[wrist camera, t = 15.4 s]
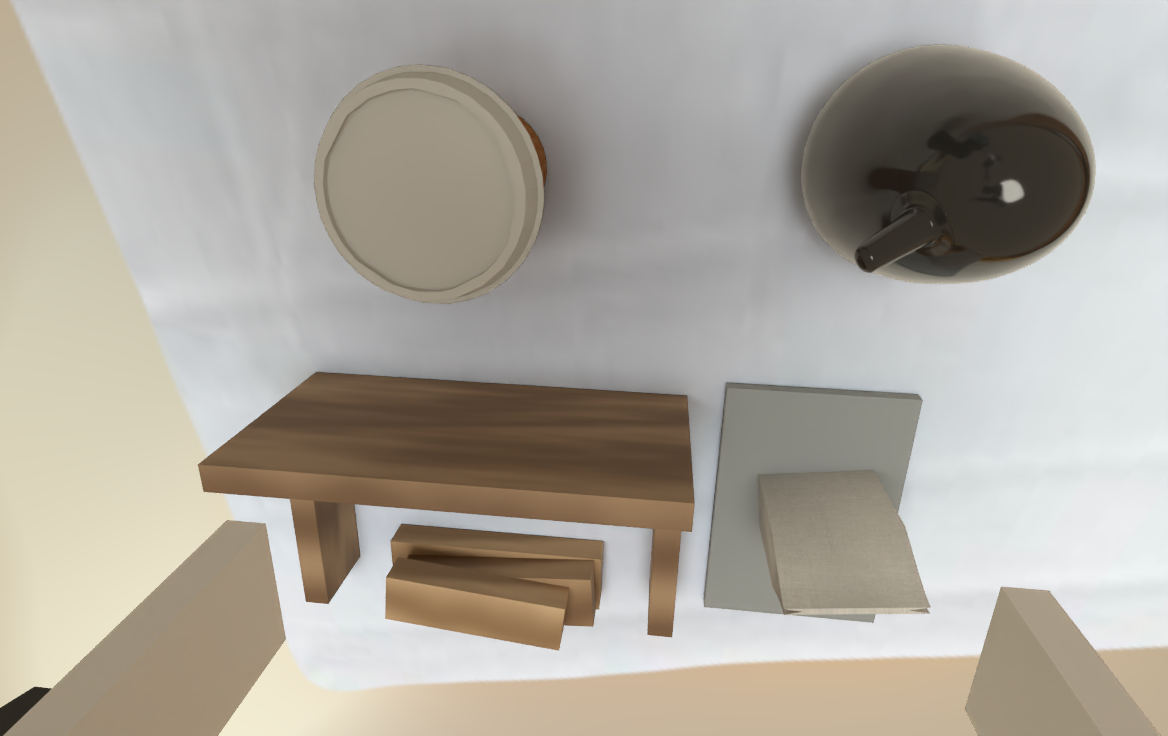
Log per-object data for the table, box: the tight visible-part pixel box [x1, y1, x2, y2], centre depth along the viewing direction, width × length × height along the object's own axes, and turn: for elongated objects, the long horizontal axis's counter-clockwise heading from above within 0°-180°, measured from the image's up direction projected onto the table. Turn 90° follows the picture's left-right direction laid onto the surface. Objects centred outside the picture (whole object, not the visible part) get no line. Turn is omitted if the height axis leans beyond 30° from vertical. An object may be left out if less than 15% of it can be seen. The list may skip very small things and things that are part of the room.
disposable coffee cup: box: [314, 65, 547, 304], centre depth 33 cm, size 10×10×12 cm
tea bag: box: [758, 470, 930, 615], centre depth 38 cm, size 4×7×10 cm, turn 96°
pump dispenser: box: [801, 45, 1096, 284], centre depth 29 cm, size 10×10×15 cm
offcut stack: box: [385, 524, 603, 650], centre depth 45 cm, size 5×14×6 cm, turn 89°
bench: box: [198, 372, 694, 637], centre depth 40 cm, size 14×24×12 cm, turn 89°
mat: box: [704, 383, 923, 623], centre depth 43 cm, size 16×11×1 cm
